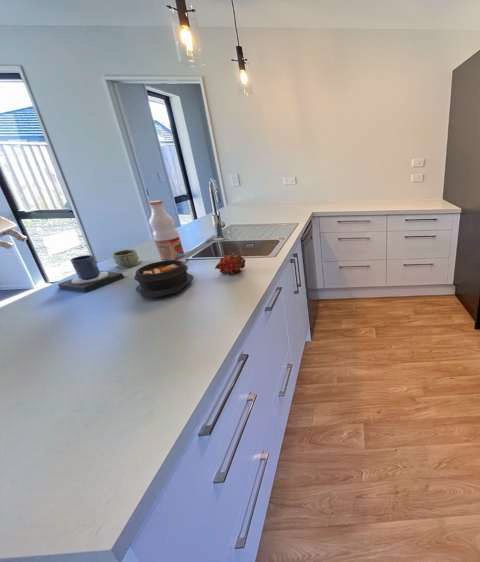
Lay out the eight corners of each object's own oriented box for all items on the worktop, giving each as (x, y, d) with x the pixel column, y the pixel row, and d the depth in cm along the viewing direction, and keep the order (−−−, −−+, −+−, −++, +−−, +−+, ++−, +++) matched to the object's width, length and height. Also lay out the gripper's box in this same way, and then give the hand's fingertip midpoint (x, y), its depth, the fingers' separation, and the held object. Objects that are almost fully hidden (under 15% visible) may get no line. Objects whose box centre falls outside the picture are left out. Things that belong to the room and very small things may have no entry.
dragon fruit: (250, 273, 129) (221, 283, 124) (243, 258, 132) (215, 267, 127) (247, 262, 122) (216, 272, 117) (240, 246, 125) (209, 256, 120)
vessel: (117, 263, 139) (112, 250, 136) (140, 259, 144) (135, 246, 141) (116, 271, 130) (110, 257, 128) (141, 266, 135) (136, 253, 132)
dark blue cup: (75, 279, 116) (65, 260, 112) (93, 273, 121) (84, 254, 118) (87, 280, 114) (78, 261, 111) (104, 274, 120) (96, 255, 116)
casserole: (193, 295, 107) (186, 273, 104) (130, 307, 100) (120, 284, 97) (196, 271, 128) (190, 253, 124) (144, 280, 121) (136, 260, 117)
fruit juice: (163, 262, 140) (142, 201, 128) (186, 258, 144) (168, 198, 133) (162, 268, 132) (140, 204, 121) (186, 263, 137) (168, 201, 125)
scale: (60, 289, 115) (56, 282, 113) (99, 275, 127) (96, 268, 126) (86, 292, 111) (83, 286, 110) (124, 278, 123) (121, 271, 122)
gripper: (-57, 216, 86) (7, 243, 94) (-14, 205, 103) (38, 229, 111) (-70, 233, 87) (-5, 259, 95) (-25, 220, 103) (27, 243, 111)
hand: (19, 243), depth 103 cm, fingers open, 8 cm apart
